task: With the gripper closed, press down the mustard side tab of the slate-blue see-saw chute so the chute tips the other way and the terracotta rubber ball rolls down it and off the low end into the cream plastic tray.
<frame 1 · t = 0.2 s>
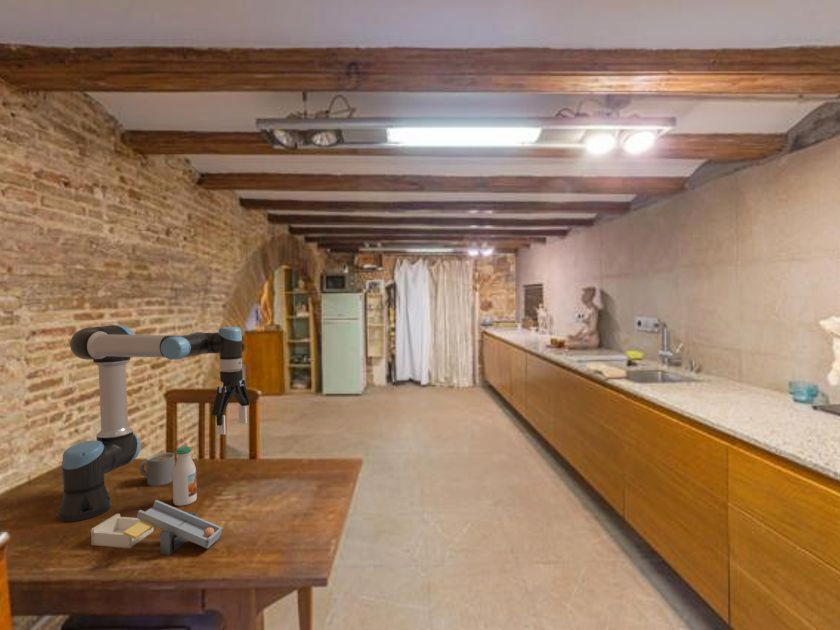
hand: (232, 428, 165), 28 cm above the table, fingers open, 13 cm apart
milk bottle: (185, 502, 169), on the table
tray: (123, 538, 143), on the table
lever: (173, 529, 137), point 6 cm above the table, hinge at 18.1°, touching ball
ball: (208, 532, 139), point 4 cm above the table, tilted 9°, touching lever
fulcrum: (179, 542, 140), on the table
coffee mug: (157, 480, 188), on the table
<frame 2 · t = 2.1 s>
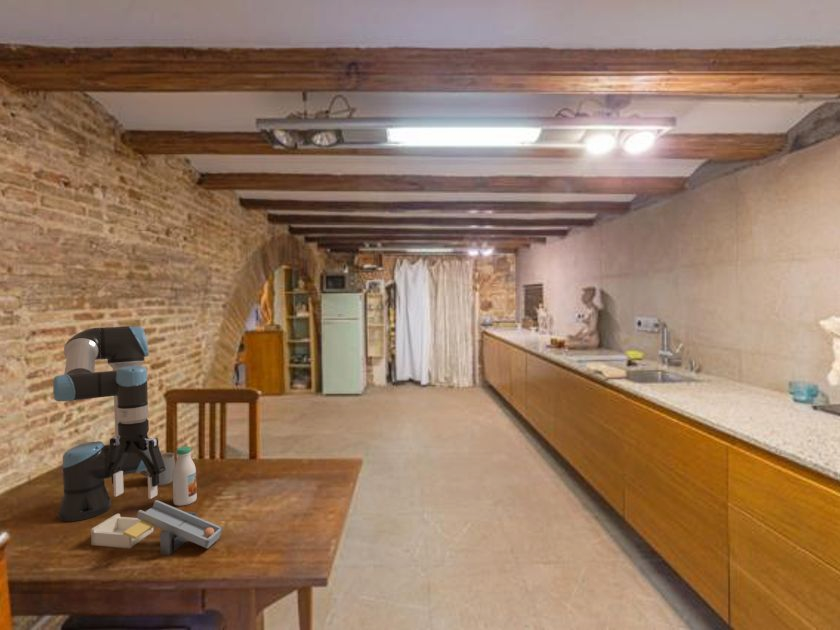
hand: (135, 495, 133), 18 cm above the table, fingers open, 10 cm apart
nothing on the table moved.
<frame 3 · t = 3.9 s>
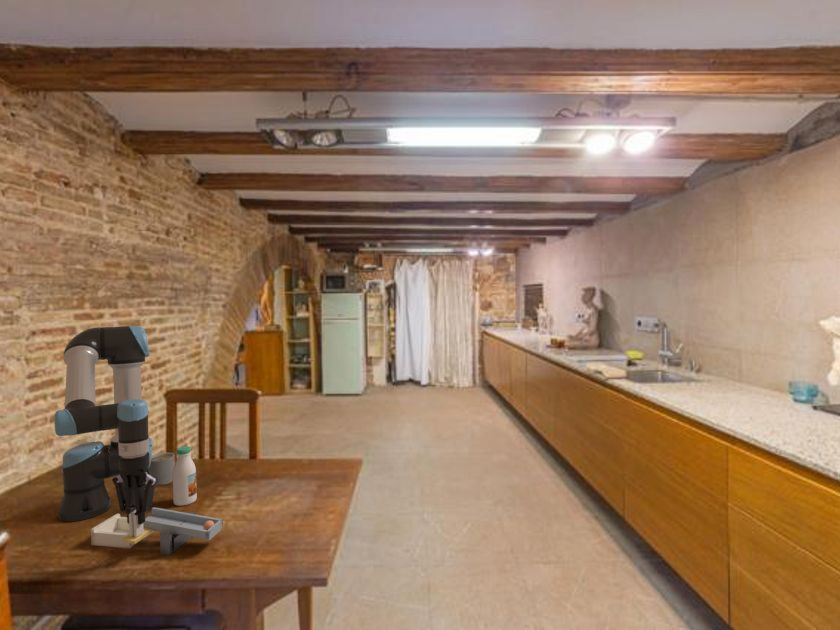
hand: (136, 534, 133), 6 cm above the table, fingers closed, pressing on lever
lever: (173, 528, 137), point 6 cm above the table, hinge at 5.4°, touching ball, gripper
ball: (208, 525, 138), point 6 cm above the table, touching lever
everything else where it was.
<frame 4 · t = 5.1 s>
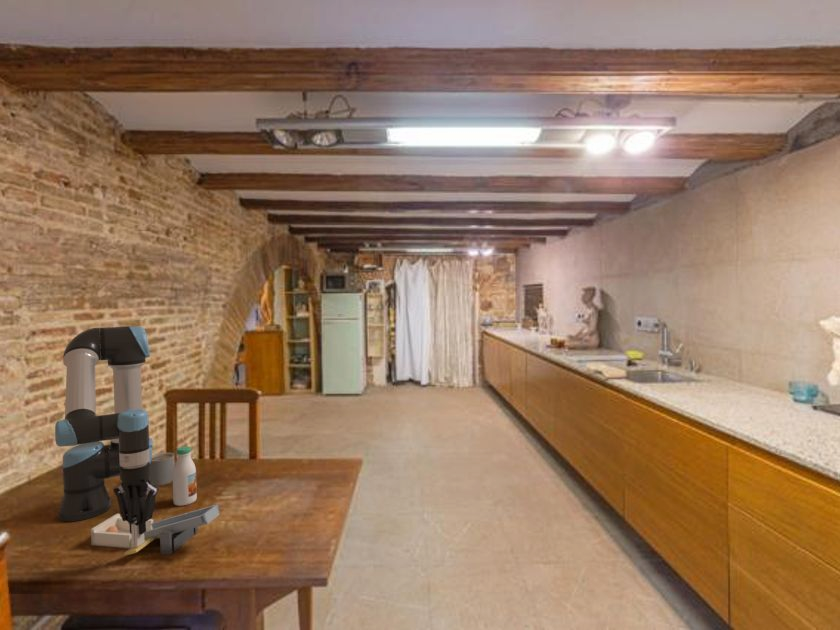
hand: (138, 544, 133), 4 cm above the table, fingers closed
lever: (171, 528, 137), point 6 cm above the table, hinge at -18.4°, touching gripper
ball: (111, 531, 144), point 2 cm above the table, tilted 54°, touching tray
everything else where it was.
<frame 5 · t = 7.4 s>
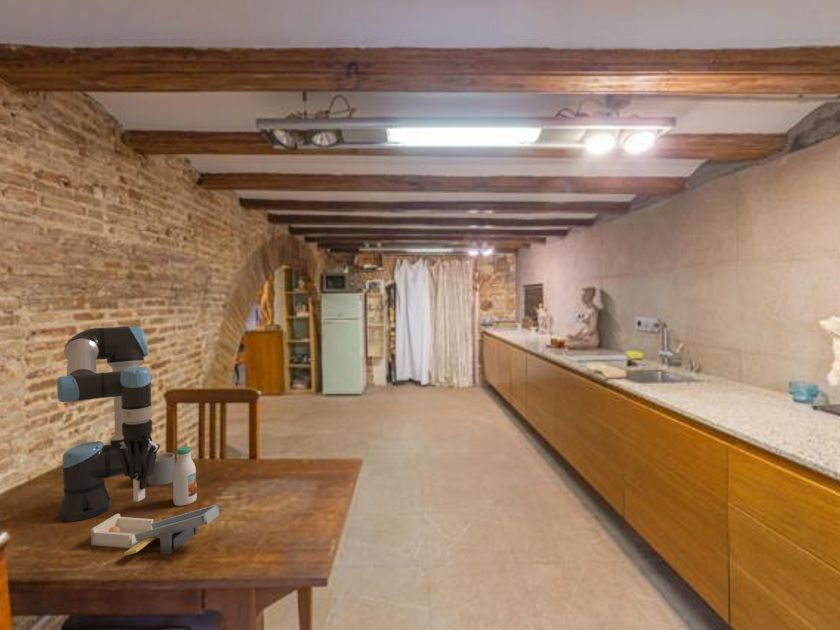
hand: (139, 499, 135), 16 cm above the table, fingers closed
lever: (171, 528, 137), point 6 cm above the table, hinge at -18.4°
ball: (114, 531, 144), point 2 cm above the table, tilted 85°, touching tray
everything else where it was.
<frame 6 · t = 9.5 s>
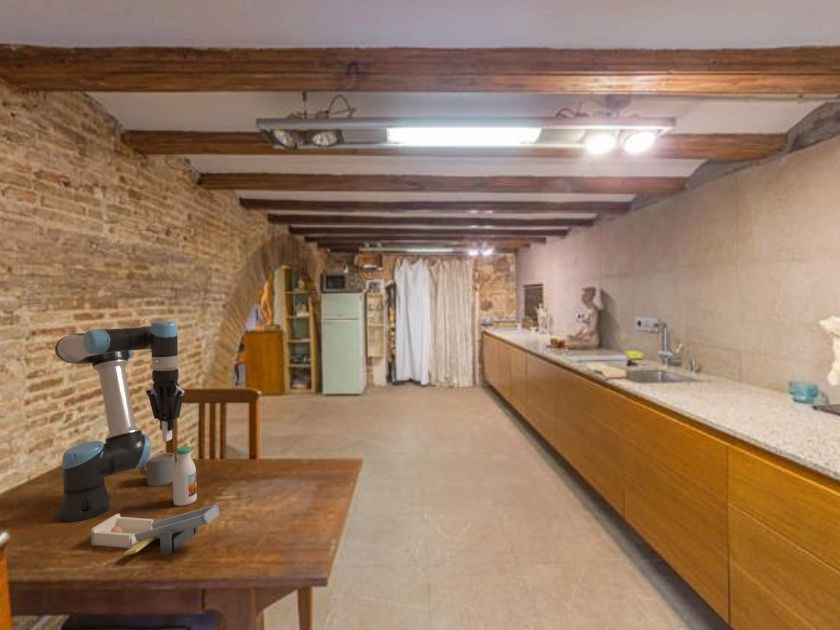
hand: (167, 439, 151), 28 cm above the table, fingers closed
ball: (116, 531, 144), point 2 cm above the table, tilted 113°, touching tray
everything else where it was.
at the end: ball inside the target area on the tray (2.6 cm from its centre), point 1.9 cm above the tray's base; lever at -18° (first picture: +18°) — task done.
